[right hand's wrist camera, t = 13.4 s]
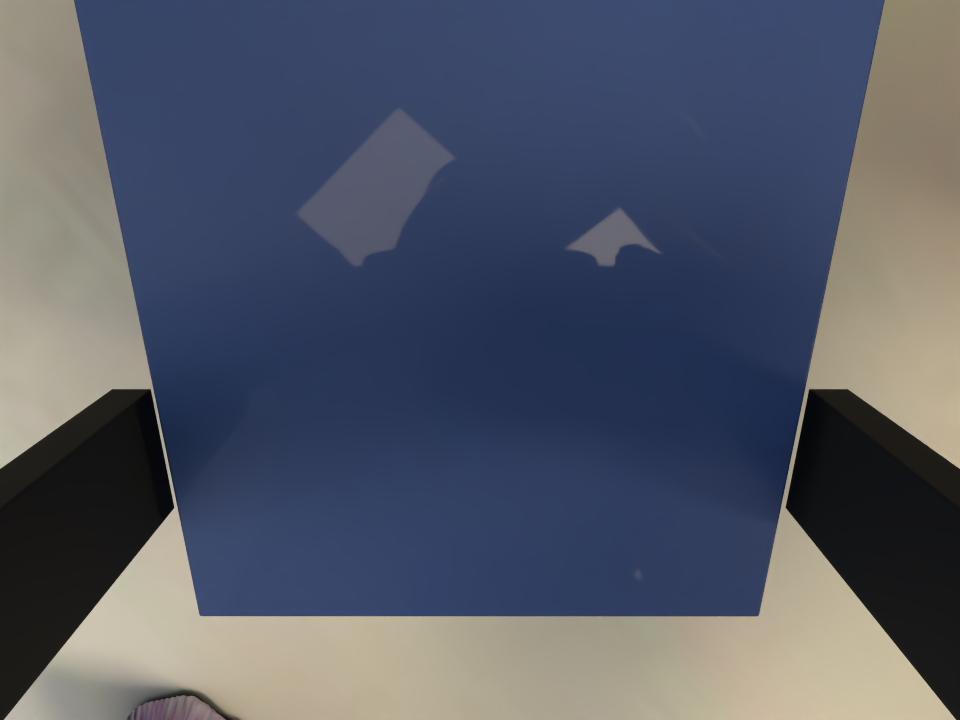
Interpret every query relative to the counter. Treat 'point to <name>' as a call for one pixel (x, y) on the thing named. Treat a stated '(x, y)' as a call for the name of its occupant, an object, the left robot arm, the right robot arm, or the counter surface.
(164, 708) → the figurine
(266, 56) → the cabinet
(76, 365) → the counter surface
